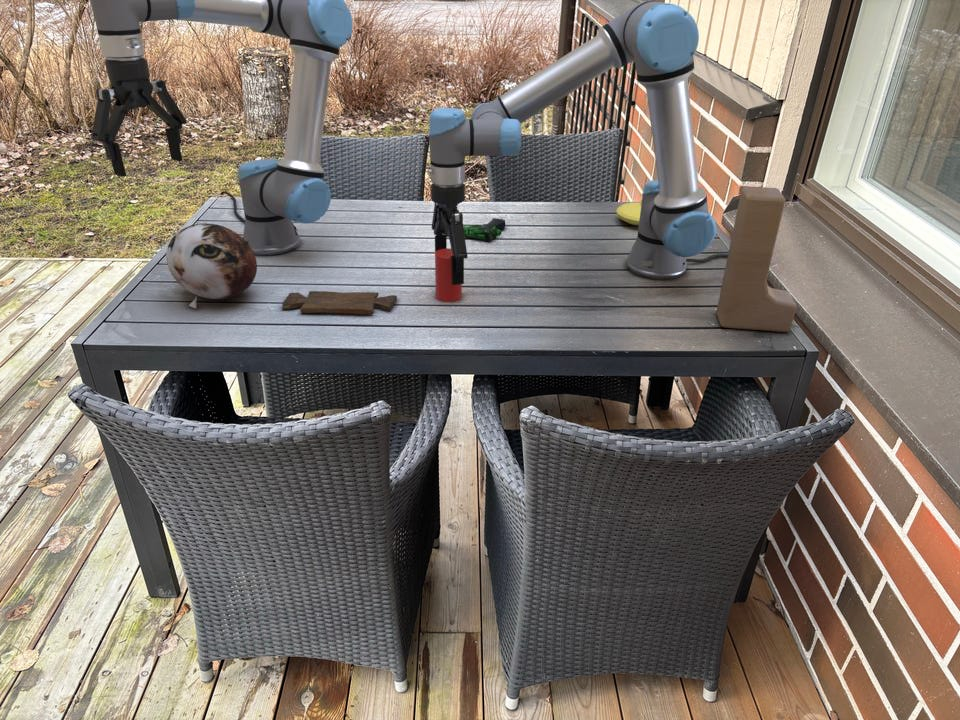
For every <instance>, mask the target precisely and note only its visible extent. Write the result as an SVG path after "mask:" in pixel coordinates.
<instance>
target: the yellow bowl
mask: <svg viewBox="0 0 960 720" xmlns="http://www.w3.org/2000/svg"><path fill="white" fill-rule="evenodd" d="M641 204H642V198H640V201H639V202H635V201H634V202H628V203H624V204H621V205H620V206H618V208H616V216H617V217H618V218H619V219H620V220H622V221H624V222H625V223H628V224H630V225H632V226H638V227H639V220H640V212H641Z"/></svg>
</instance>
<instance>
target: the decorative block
mask: <svg viewBox="0 0 960 720" xmlns="http://www.w3.org/2000/svg"><path fill="white" fill-rule="evenodd" d="M785 205H786V198H785V196H784V195H783V193H782V192H781V191H780V189H779V188H777V187H766V186H765V187H764V186H748V185H747V186H746V185H745V186H742V187H741V190H740V195H739V200H738V205H737V209H736V215H735V219H734V225H733V229H732V233H731V234H732V235H731V238H730V242H729V249H728V253H727V254H728V257H726V263H725V268H724V273H723V277H722V283H721V287H720V292H719V297H718V302H717V307H716V316H717V318H718V321H719V325H720V327H721V328H727V329H740V330H754V331H767V332H780V333H789V332H791V330H792V325H793V322H794V318H795V315H796V311H797V303H796V301H795V300H794V298H793V296H792V295H791V293H790V292H789V291H788V290H783V289H778V288H774V287H771V286H769V285H768V276H769V272H770V266H771V262H772V259H773V254H774V250H775V247H776V242H777V238H778V234H779V230H780V225H781V221H782V217H783V212H784V208H785Z"/></svg>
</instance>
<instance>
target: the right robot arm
mask: <svg viewBox="0 0 960 720" xmlns="http://www.w3.org/2000/svg"><path fill="white" fill-rule="evenodd" d="M699 34H700V33H699V28H698V25H697V23H696V20H695V19H694V17H693V16H692V15H691V14H690V13H689V12H688V11H687V10H686V9H684V8H683V7H682V6H679V5H677V4H675V3H669V2H662V1H660V0H644V1H641V2H637V3H636V4H635V5H634V4H633V6H631V7H630V8H628V9H626V10H625V11H624V12H622V13H620V14H619V15H617V16H616V17H614V18H613V19H612V20H610V21H608V22H607V23H605V24H604V25H602V26H601V27H599V29H598V32H597V35H595V36H594V37H592V38H591V39H589V40H588V41H586V42H584V43H583V44H580V45H579V46H578V47H576V48H575V49H573V50H571V51H570V52H568V53H567V54H565V55H563V56H562V57H561V58H559V59H557V60H555V61H554V62H552V63H551V64H549V65H547V66H546V67H544V68H543V69H541V70H540V71H538V72H537V73H535V74H533V75H532V76H530V77H528V78H527V79H525V80H523V81H522V82H521V83H518V84H517V85H516V86H514V87H513V88H511V89H509V90H508V91H506V92H504V93H503V94H501V95H500V96H498V97H497V98H495V99H493V100H492V101H490V102H484V103H480V104H478V105H477V106H476V107H475V108H474V109H473V111H472V112H471V114H470V119H469V118H466V115H465V114H466V113H465V111H464V110H462V109H461V108H456V107H455V108H452V107H440V108H436V109H434V110H432V111H431V112H430V114H429V125H428V126H429V129H428V137H429V138H428V139H429V161H430V163H429V165H430V169H428V170H427V172H428V174H429V175H430V182H431V184H430V200H431V201H432V202H433V205H434V206H433V212H432V213H433V214H432V220H431V221H432V222H431V230H432V231H433V235H434V253H435V252H436V251H438V250H440V249H446V248H448V246H447V245H448V244H447V243H448V242H447V240H448V239H449V244H450V248H451V250H452V255H453V256H451V257H450V259H451V272H452V285H458V284H462V285H465V259H468V250H467V243H466V242H467V241H466V237H465V235H464V227H463V226H464V214H463V212H460V211H459V209H458V205H459V204H462V203H463V202H464V201H465V199H466V185H465V182H466V160H465V159H466V157H507V156H516V155H518V154H519V153H520V151H521V148H522V126H521V124H522V123H524V122H526V121H527V120H529V119H531V118H532V117H534V116H535V115H537V114H539V113H540V112H542V111H544V110H545V109H547V108H549V107H550V106H552V105H553V104H555V103H557V102H558V101H560V100H562V99H564V98H565V97H567V96H568V95H570V94H572V93H574V92H575V91H576V90H578V89H581V87H583V86H584V85H586V84H588V83H589V82H591V81H593V80H594V79H596V78H598V77H600V76H601V75H603V74H604V73H606V72H608V71H609V70H611V69H613V68H616V69H622V68H624V67H625V66H627V65H629V64H631V63H633V62H634V66H635V73H636V79H637V83H639V84H640V85H642V86H643V87H645V92H646V99H647V106H648V114H649V120H650V122H649V123H650V129H651V137H652V145H653V152H654V159H655V165H656V166H655V167H656V175H657V179H652V180H649V181H647V182H646V183H645V184H644V187H643V190H642V191H643V192H642V194H641V196H642V198H641V199H642V204H641V212H640V220H639V226H638V227H637V228H638V229H637V236H636V239H635V241H634V243H633V246H632V248H631V250H630V252H629V254H628V255H627V258H626V265H625V266H626V269H628V271H629V272H631V273H632V274H634V275H636V276H638V277H641V278H646V279H651V280H657V281H658V280H659V281H668V280H675V279H679V278H681V277H683V276H684V275H685V274H686V273H687V268H688V267H687V266H688V264H687V263H706V262H708V261H710V260H712V259H715V258H728V253H716V254H712V255H708V257H705V258H692V257H695V256H698V255H700V254H702V253H703V252H704V251H706V250H707V249H708V248H709V246H710V245H712V243H713V242H714V240H715V238H716V234H717V224H716V221H715V219H714V217H713V216H712V214H710V212H709V205H708V194H707V193H708V192H707V191H706V189H705V188H703V187H702V186H700V185H699V177H698V176H699V175H698V165H697V157H696V145H695V136H694V127H693V117H692V108H691V107H692V106H691V105H692V104H691V97H690V85H689V78H690V76H691V75H692V73H693V72H694V71H695V59H694V55H695V53H696V52H697V49H698V46H699V41H700V40H699V39H700V35H699ZM447 231H448V233H447ZM445 234H448V235H445ZM447 236H448V239H447Z"/></svg>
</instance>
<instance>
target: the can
mask: <svg viewBox="0 0 960 720" xmlns="http://www.w3.org/2000/svg"><path fill="white" fill-rule="evenodd" d="M451 256H453V255H452V250H451V247H450V248H449V247H447V248H446V249H440V250H438V251H436V252H435V251H434V272H435V274H434V275H435V280H434V281H435V299H437V300H438V301H440V302H444V303H453V302H457V301H459V300H461V299H462V298H463V284H458V285H452V272H451V259H450V257H451Z"/></svg>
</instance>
